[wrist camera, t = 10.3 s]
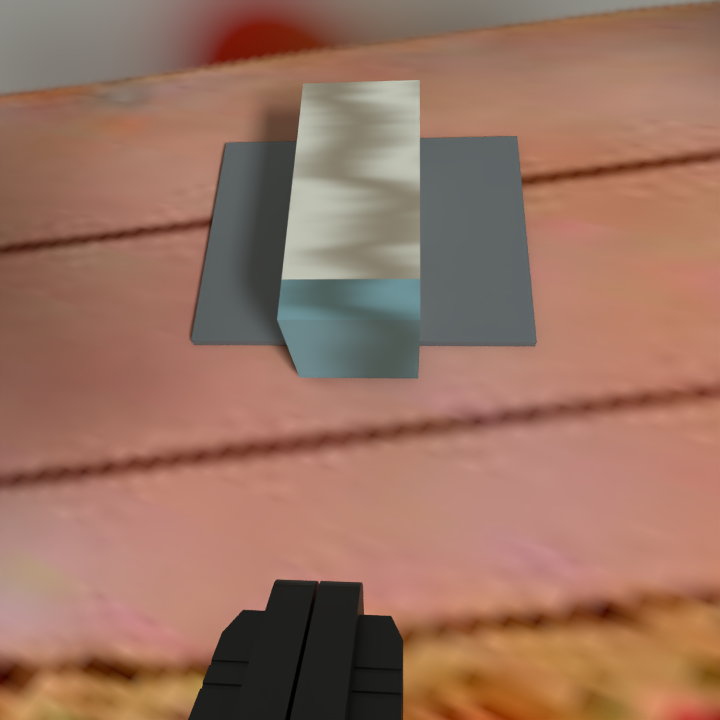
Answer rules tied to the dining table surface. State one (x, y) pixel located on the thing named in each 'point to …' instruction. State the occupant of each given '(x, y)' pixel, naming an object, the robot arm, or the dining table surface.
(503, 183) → the mat
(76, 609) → the dining table surface
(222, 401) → the dining table surface
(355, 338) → the block
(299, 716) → the robot arm
